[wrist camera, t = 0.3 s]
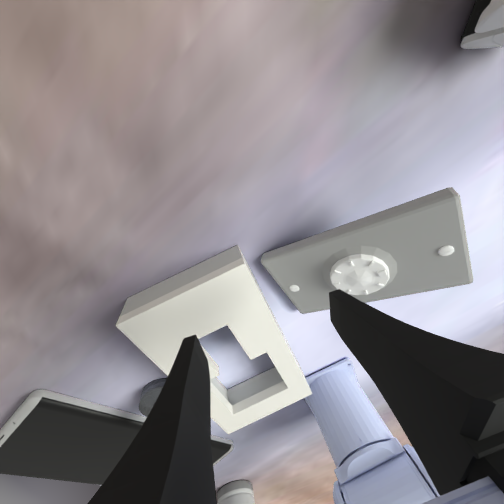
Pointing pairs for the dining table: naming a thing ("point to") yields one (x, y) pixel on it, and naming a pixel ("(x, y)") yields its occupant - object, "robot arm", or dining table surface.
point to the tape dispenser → (485, 25)
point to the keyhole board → (209, 320)
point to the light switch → (378, 255)
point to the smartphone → (72, 439)
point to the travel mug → (236, 493)
